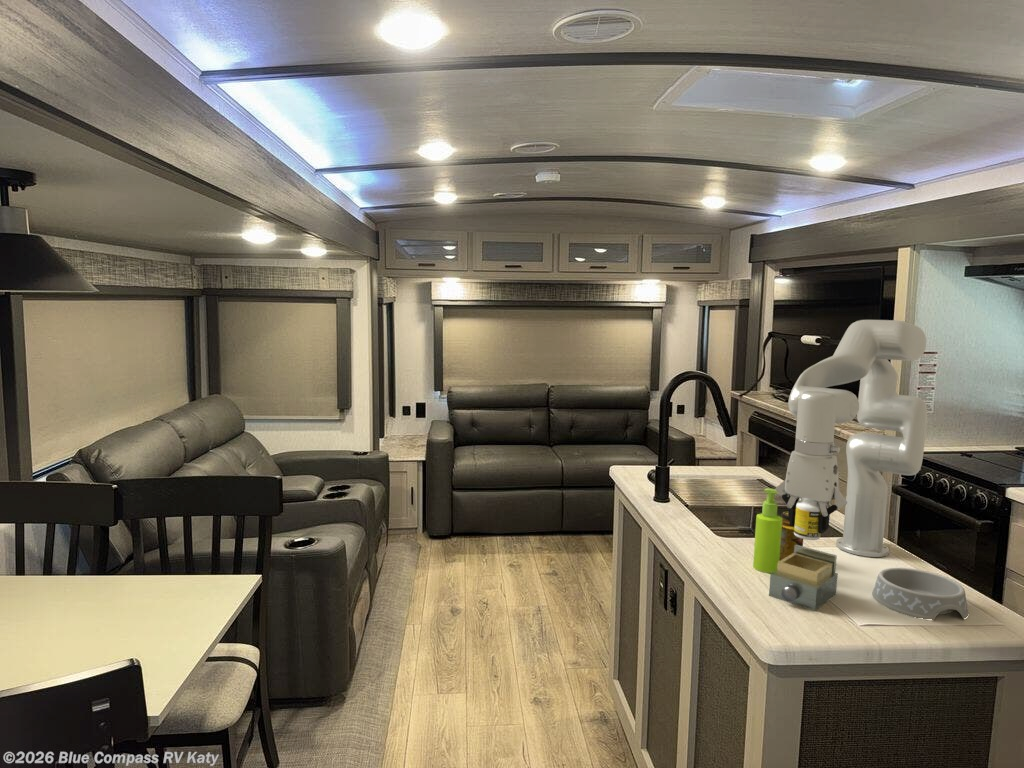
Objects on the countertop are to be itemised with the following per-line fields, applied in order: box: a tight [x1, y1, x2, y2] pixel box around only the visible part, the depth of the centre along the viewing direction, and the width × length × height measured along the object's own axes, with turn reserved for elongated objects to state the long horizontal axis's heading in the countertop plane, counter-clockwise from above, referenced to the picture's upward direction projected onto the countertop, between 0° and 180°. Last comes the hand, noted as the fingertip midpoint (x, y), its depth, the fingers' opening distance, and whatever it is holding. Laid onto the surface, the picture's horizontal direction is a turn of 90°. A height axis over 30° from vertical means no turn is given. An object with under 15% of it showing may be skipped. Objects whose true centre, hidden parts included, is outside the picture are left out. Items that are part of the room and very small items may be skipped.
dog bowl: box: [871, 567, 970, 621], centre depth 143 cm, size 17×18×5 cm
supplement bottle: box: [794, 498, 822, 541], centre depth 143 cm, size 5×5×10 cm
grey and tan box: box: [768, 545, 838, 612], centre depth 144 cm, size 14×10×9 cm
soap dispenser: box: [752, 487, 782, 574], centre depth 159 cm, size 6×7×20 cm
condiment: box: [779, 511, 804, 561], centre depth 167 cm, size 7×8×12 cm
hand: (807, 527), depth 144 cm, fingers closed on supplement bottle, 5 cm apart
